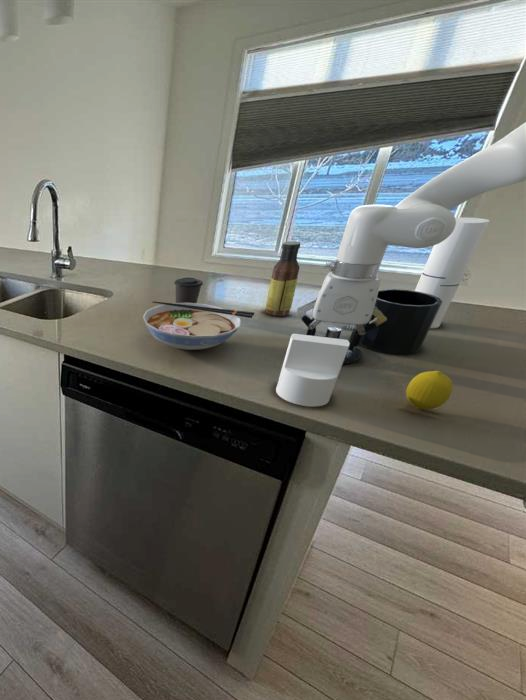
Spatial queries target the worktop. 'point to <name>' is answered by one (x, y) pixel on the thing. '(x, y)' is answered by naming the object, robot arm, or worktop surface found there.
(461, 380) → the worktop surface
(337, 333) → the tin lid
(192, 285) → the coffee cup
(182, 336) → the ramen bowl
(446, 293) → the cylindrical container
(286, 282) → the sauce bottle
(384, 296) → the cup
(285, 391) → the base with upright slab
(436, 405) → the lemon
